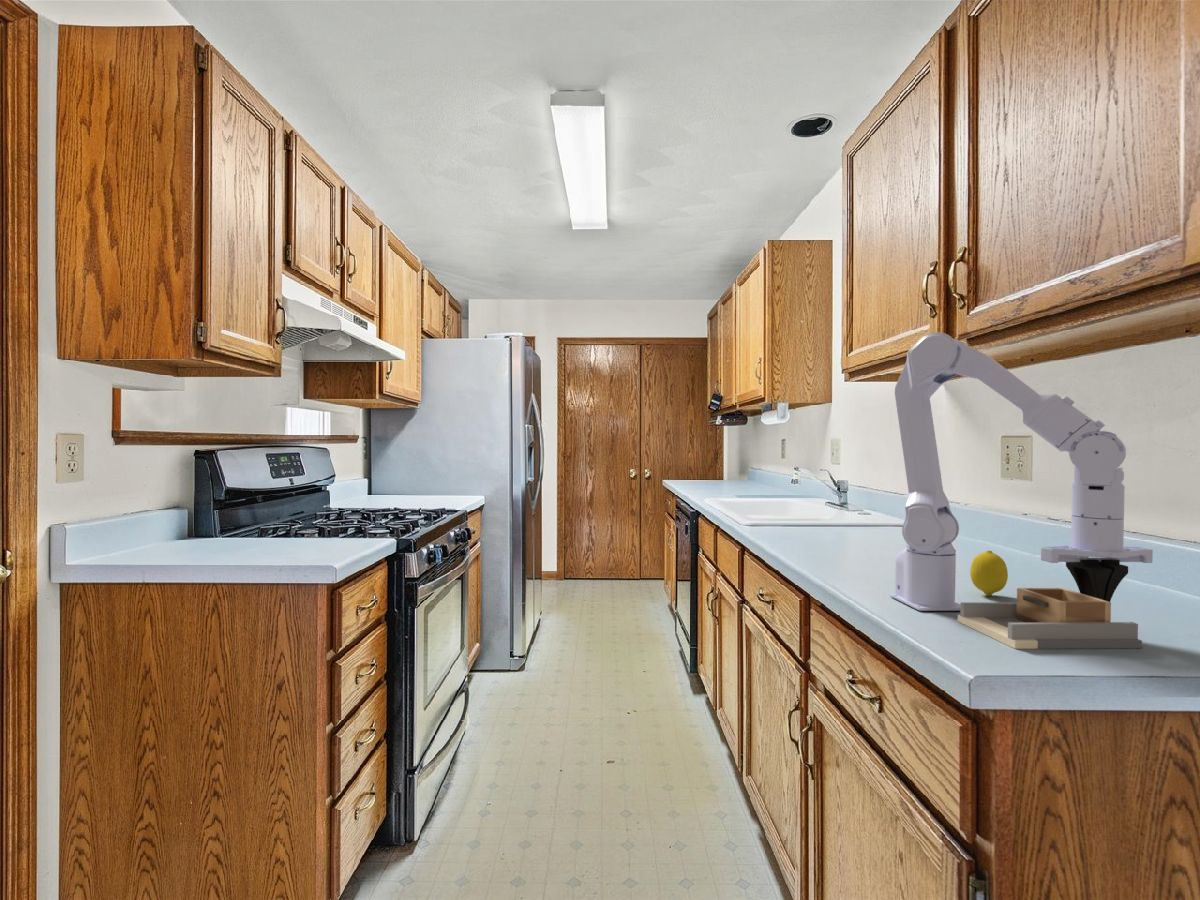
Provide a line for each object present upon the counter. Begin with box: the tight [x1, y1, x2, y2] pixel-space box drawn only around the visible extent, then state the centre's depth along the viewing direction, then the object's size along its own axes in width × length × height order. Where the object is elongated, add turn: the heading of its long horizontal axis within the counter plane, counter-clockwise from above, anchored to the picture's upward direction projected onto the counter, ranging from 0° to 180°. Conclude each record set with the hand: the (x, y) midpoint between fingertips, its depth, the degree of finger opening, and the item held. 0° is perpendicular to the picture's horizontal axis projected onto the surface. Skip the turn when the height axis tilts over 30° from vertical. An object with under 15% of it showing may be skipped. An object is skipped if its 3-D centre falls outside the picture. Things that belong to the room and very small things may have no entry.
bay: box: [957, 601, 1143, 650], centre depth 85 cm, size 12×17×3 cm
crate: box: [1016, 587, 1112, 622], centre depth 85 cm, size 8×8×4 cm
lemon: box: [969, 549, 1009, 597], centre depth 106 cm, size 6×6×8 cm
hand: (1095, 613), depth 85 cm, fingers closed
